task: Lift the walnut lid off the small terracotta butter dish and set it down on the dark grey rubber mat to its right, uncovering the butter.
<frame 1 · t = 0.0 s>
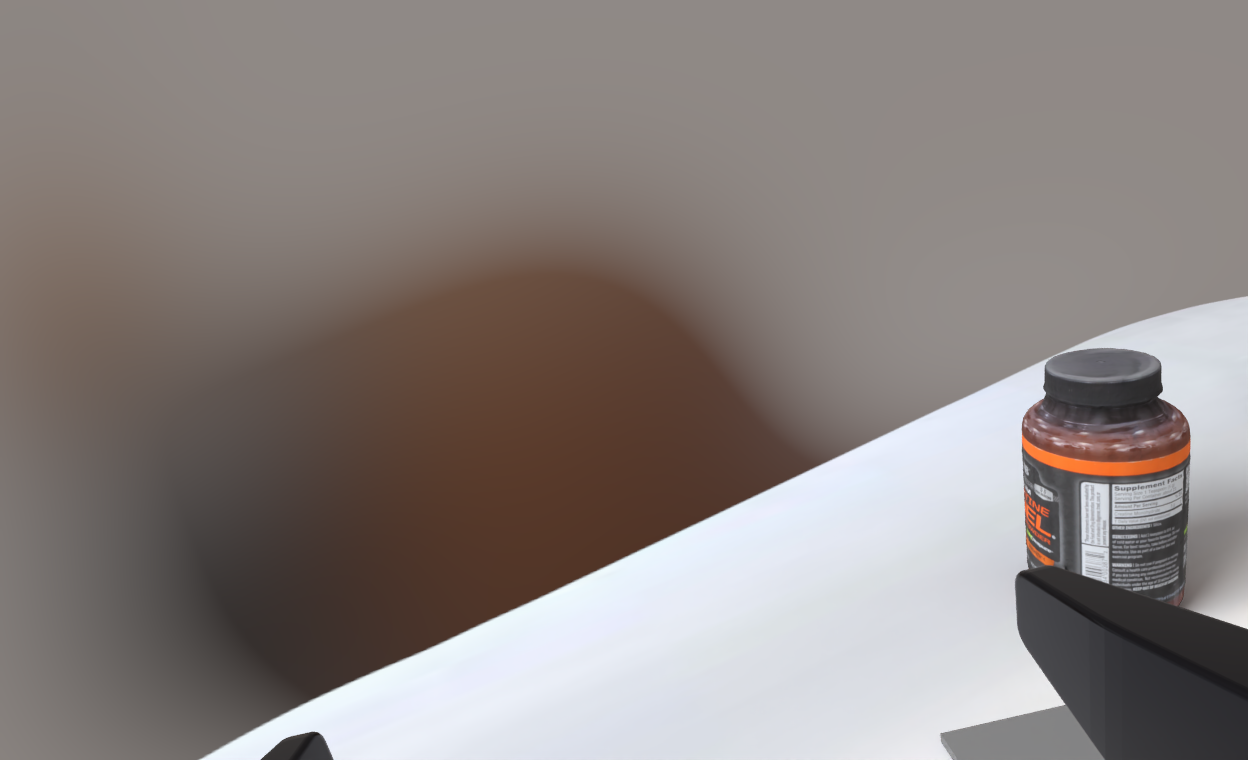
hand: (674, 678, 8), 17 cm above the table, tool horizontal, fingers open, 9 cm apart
supplement bottle: (1101, 591, 31), on the table
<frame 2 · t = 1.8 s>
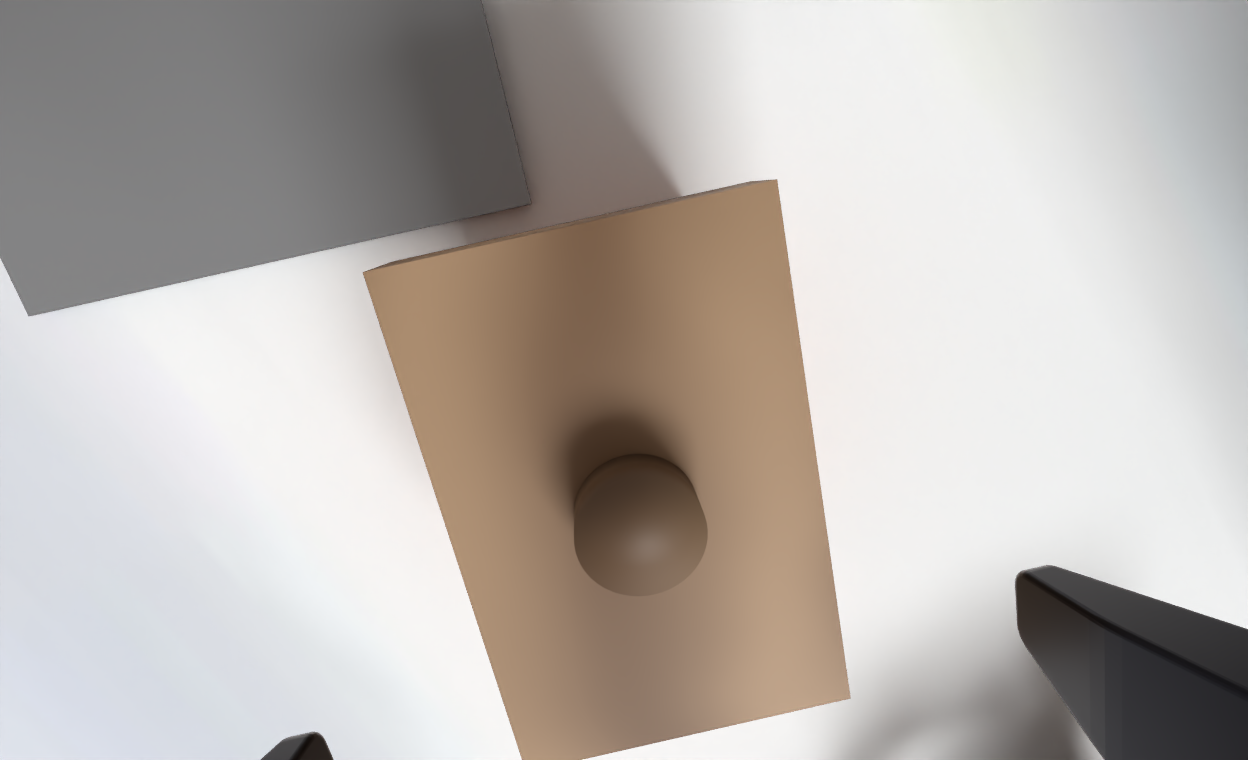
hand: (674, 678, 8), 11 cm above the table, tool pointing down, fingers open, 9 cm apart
mat: (212, 50, 16), on the table
lid: (629, 473, 14), point 4 cm above the table, touching dish
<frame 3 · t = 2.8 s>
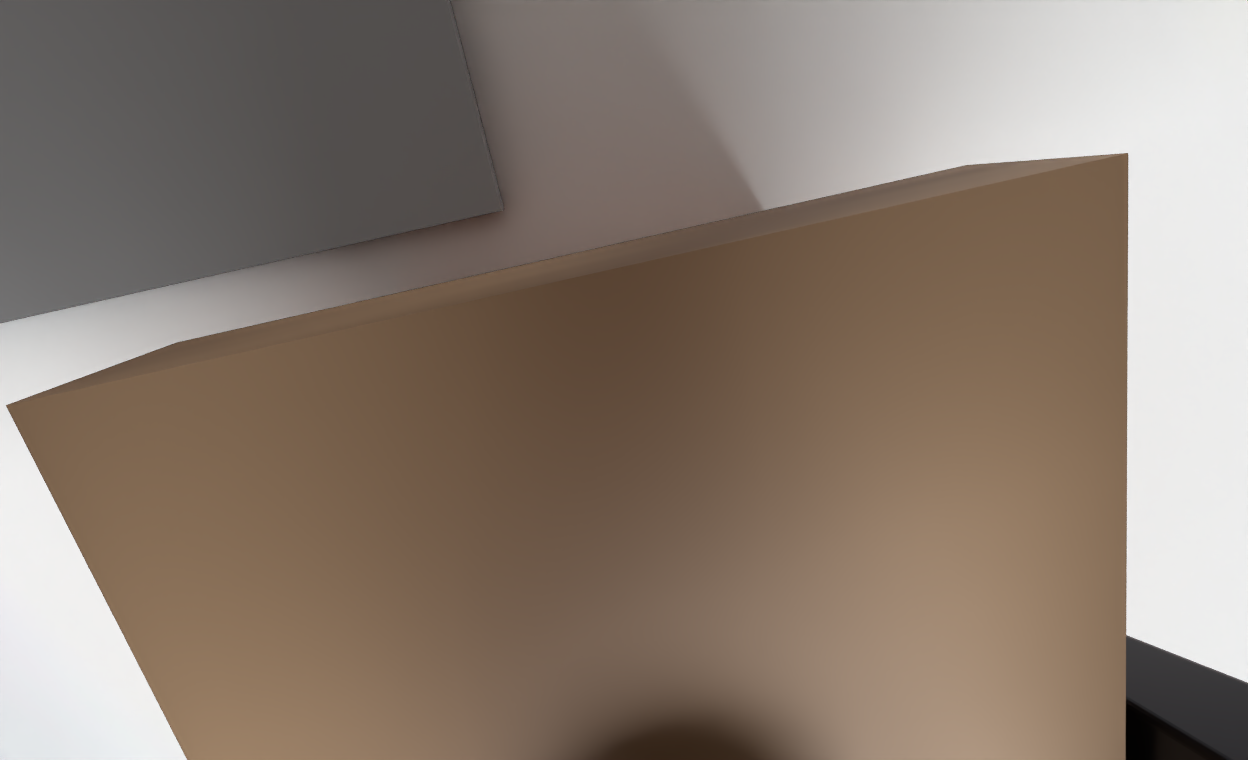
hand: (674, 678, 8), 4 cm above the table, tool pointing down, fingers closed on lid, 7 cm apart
lid: (685, 738, 7), point 4 cm above the table, touching dish, gripper
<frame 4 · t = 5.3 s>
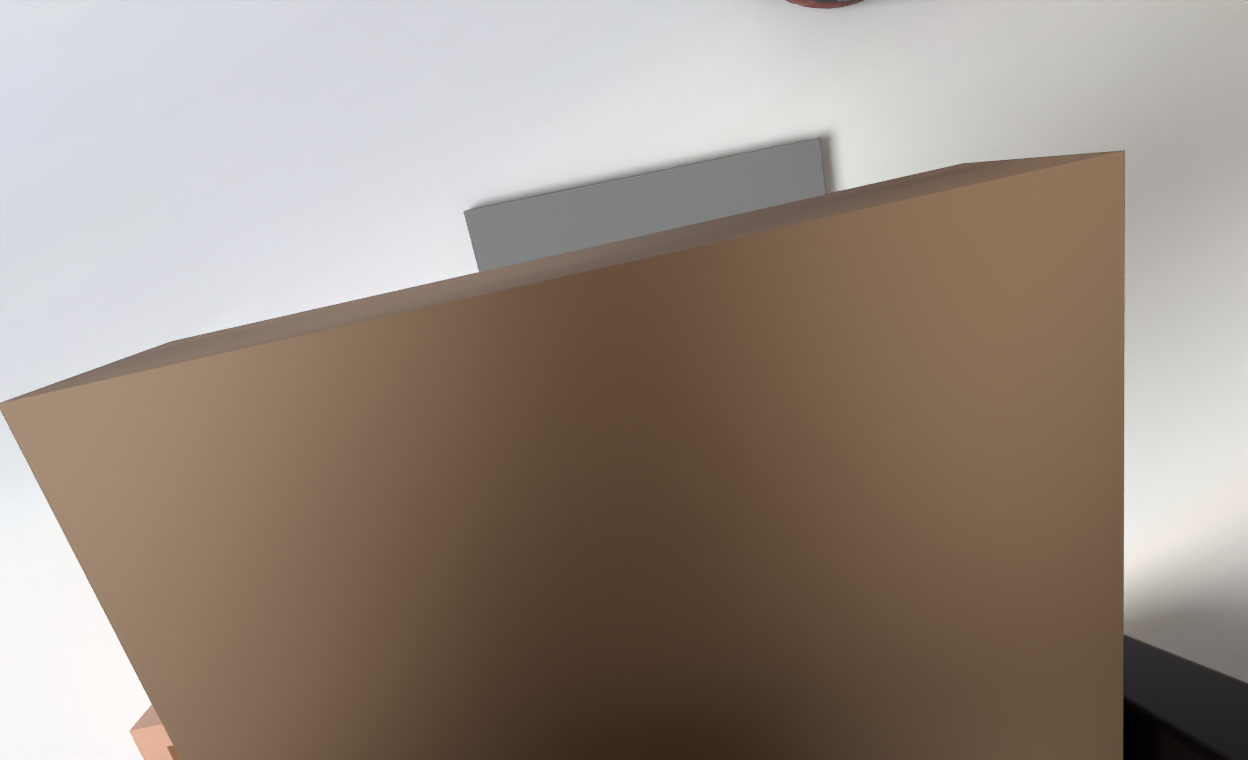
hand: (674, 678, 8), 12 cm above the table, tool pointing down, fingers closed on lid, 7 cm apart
mat: (680, 392, 20), on the table
dish: (399, 666, 22), on the table
lid: (682, 738, 7), point 13 cm above the table, touching gripper
when the fingers open (2 cm above the table, at t = 8.0 s): lid drops 2 cm, resting on mat.
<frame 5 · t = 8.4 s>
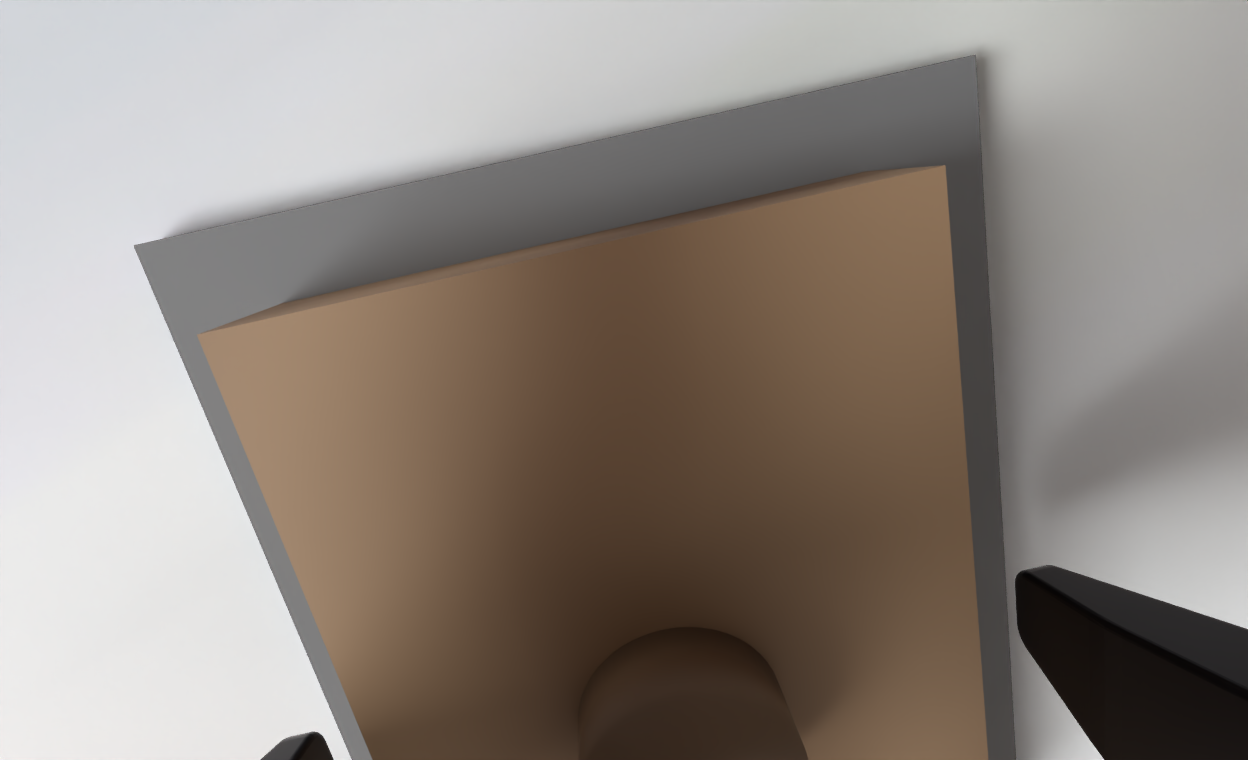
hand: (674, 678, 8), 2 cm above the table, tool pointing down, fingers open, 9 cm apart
mat: (660, 601, 10), on the table
lid: (662, 619, 9), resting on mat
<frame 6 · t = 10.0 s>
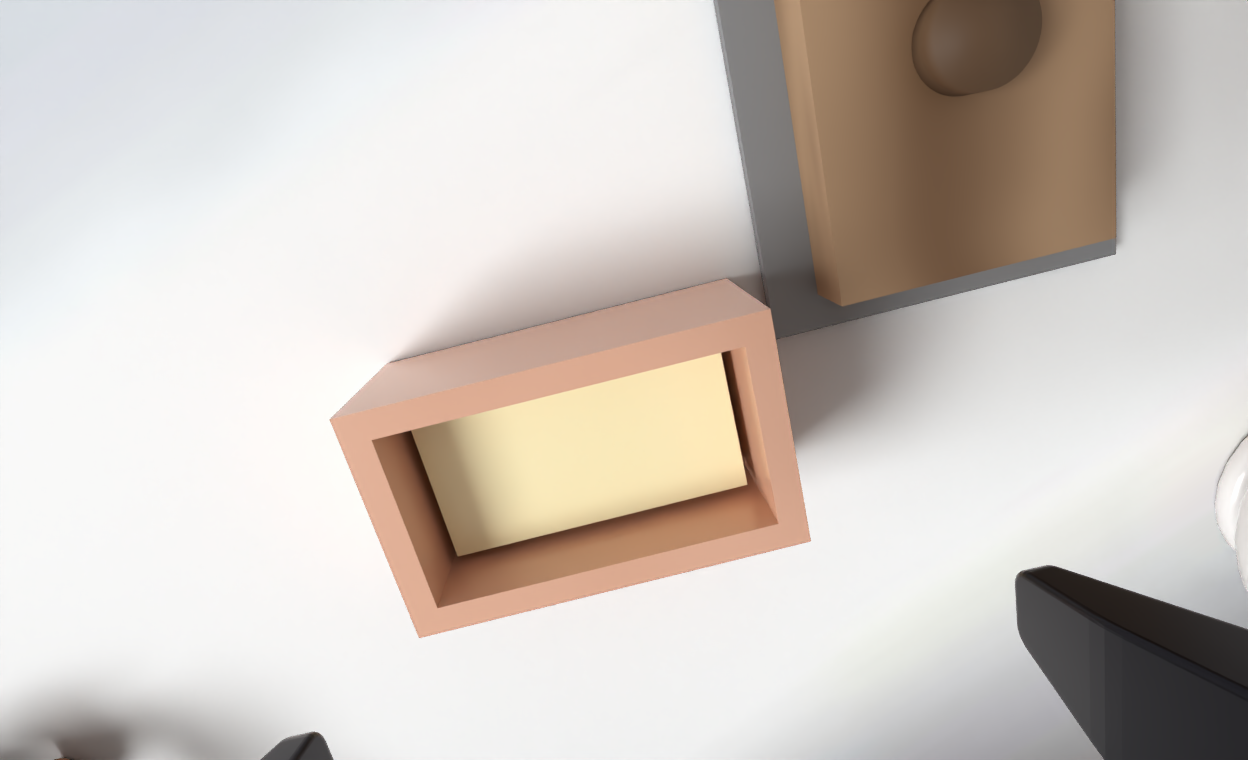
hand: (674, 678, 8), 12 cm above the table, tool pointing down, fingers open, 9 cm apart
mat: (916, 56, 17), on the table
dish: (582, 416, 20), on the table
lid: (923, 54, 17), resting on mat
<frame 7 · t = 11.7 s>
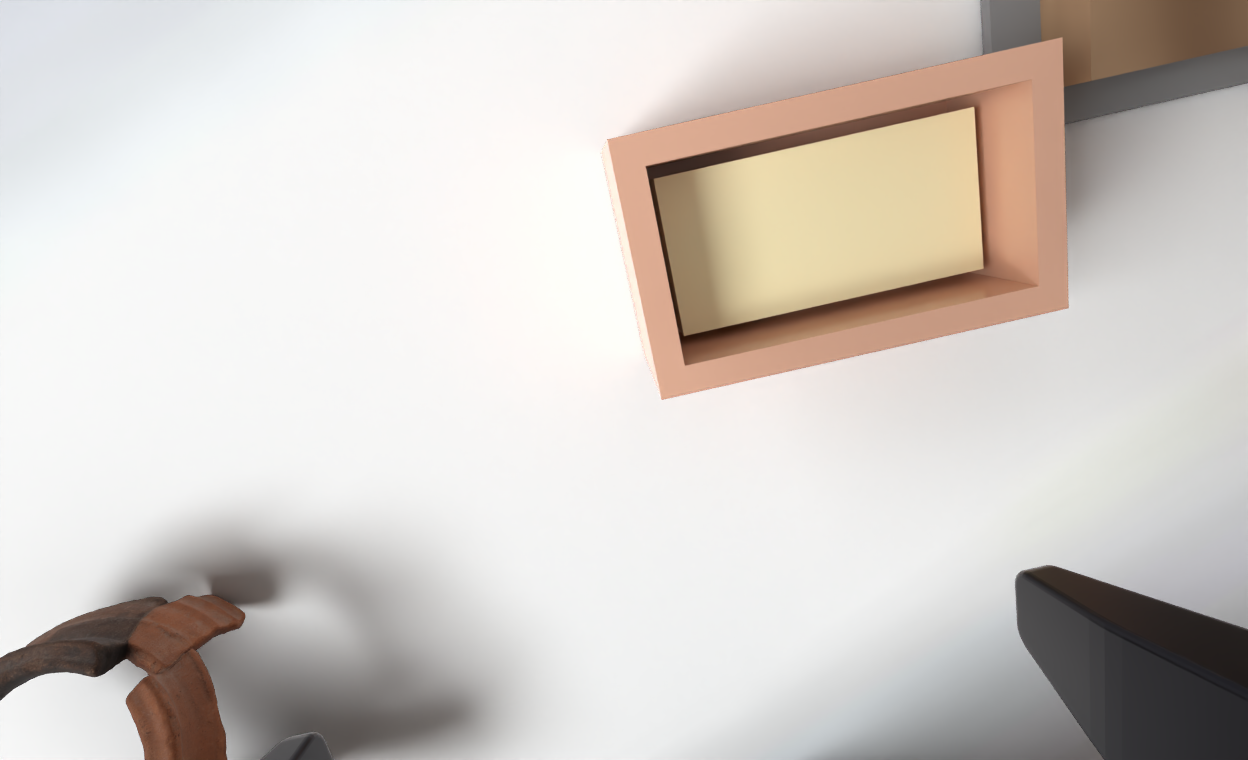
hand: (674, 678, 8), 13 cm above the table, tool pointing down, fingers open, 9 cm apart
dark brown looped piece: (228, 707, 23), on the table
dish: (790, 220, 19), on the table
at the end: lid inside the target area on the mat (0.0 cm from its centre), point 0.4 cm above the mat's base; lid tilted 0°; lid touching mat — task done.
